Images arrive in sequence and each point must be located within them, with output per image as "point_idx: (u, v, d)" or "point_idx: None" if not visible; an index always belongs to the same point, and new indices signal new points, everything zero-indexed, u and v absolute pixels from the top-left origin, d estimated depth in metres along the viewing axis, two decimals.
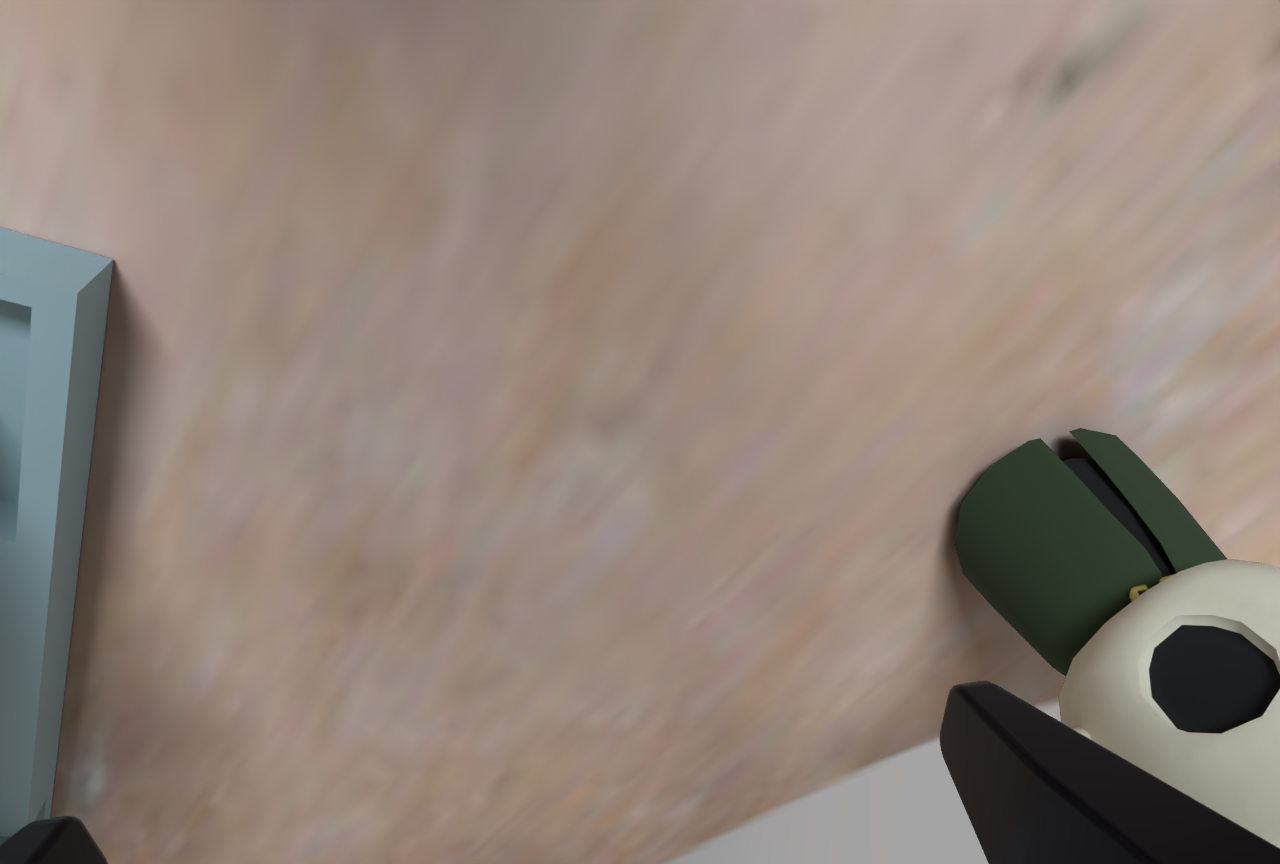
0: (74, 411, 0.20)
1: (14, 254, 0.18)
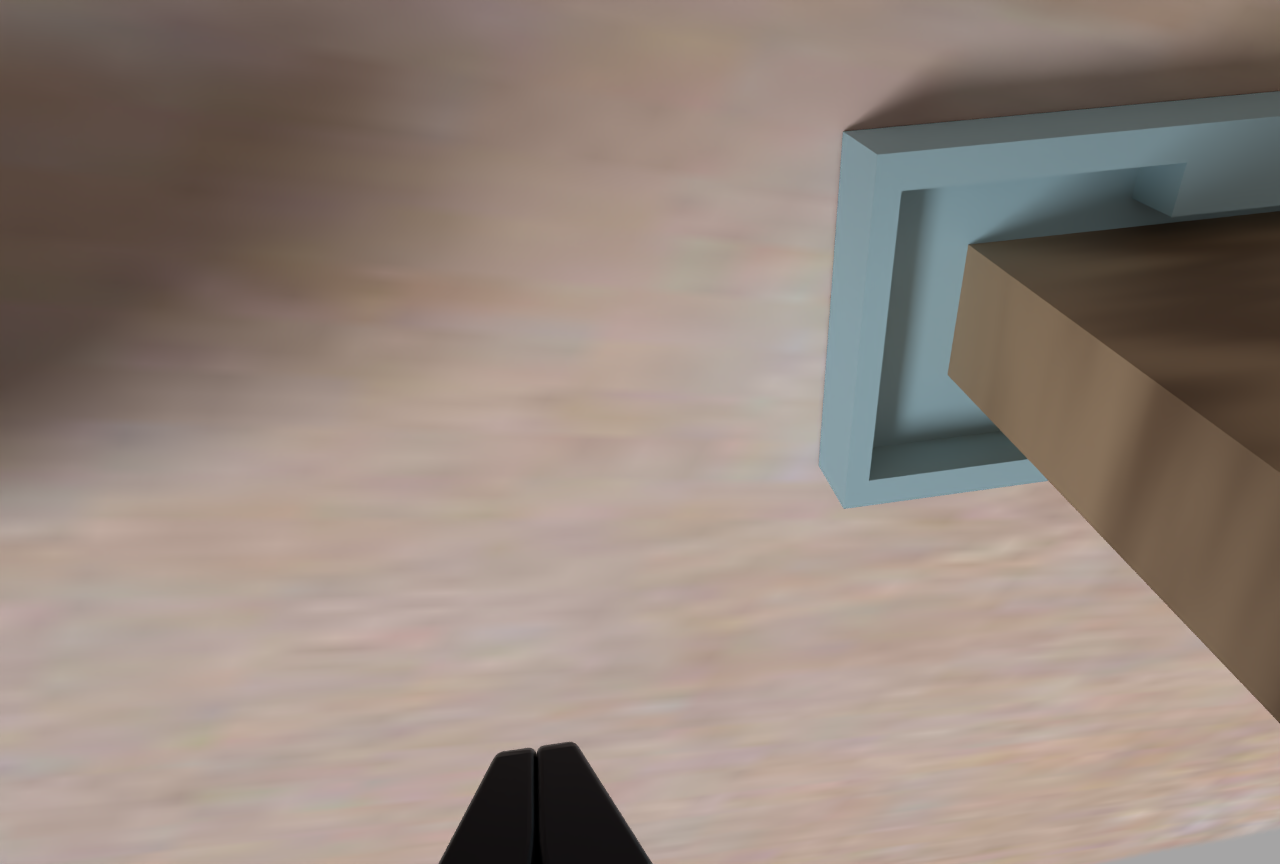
0: (1017, 134, 0.18)
1: (854, 213, 0.19)
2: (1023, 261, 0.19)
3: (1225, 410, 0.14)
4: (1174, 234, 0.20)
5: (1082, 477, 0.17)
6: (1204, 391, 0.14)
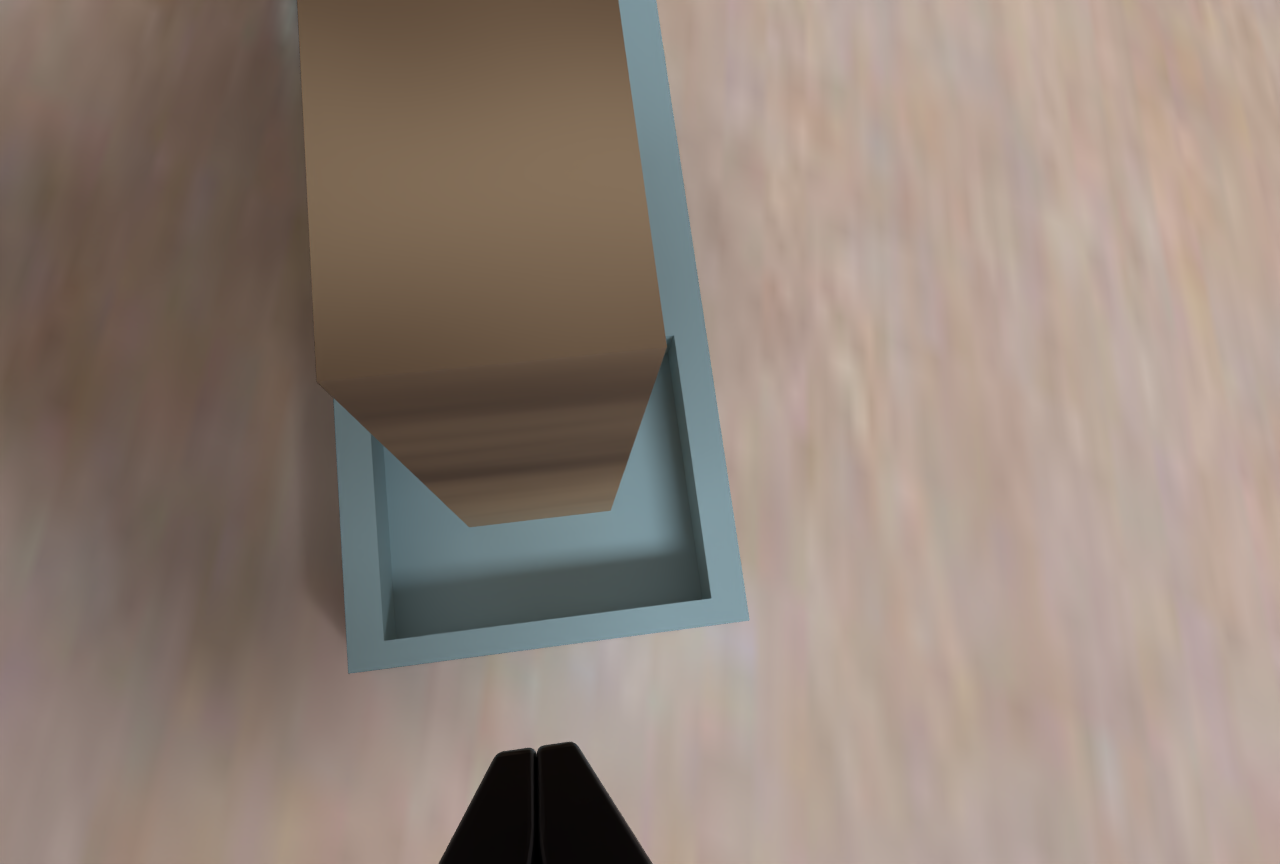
0: None
1: None
2: None
3: None
4: None
5: (583, 475, 0.16)
6: None
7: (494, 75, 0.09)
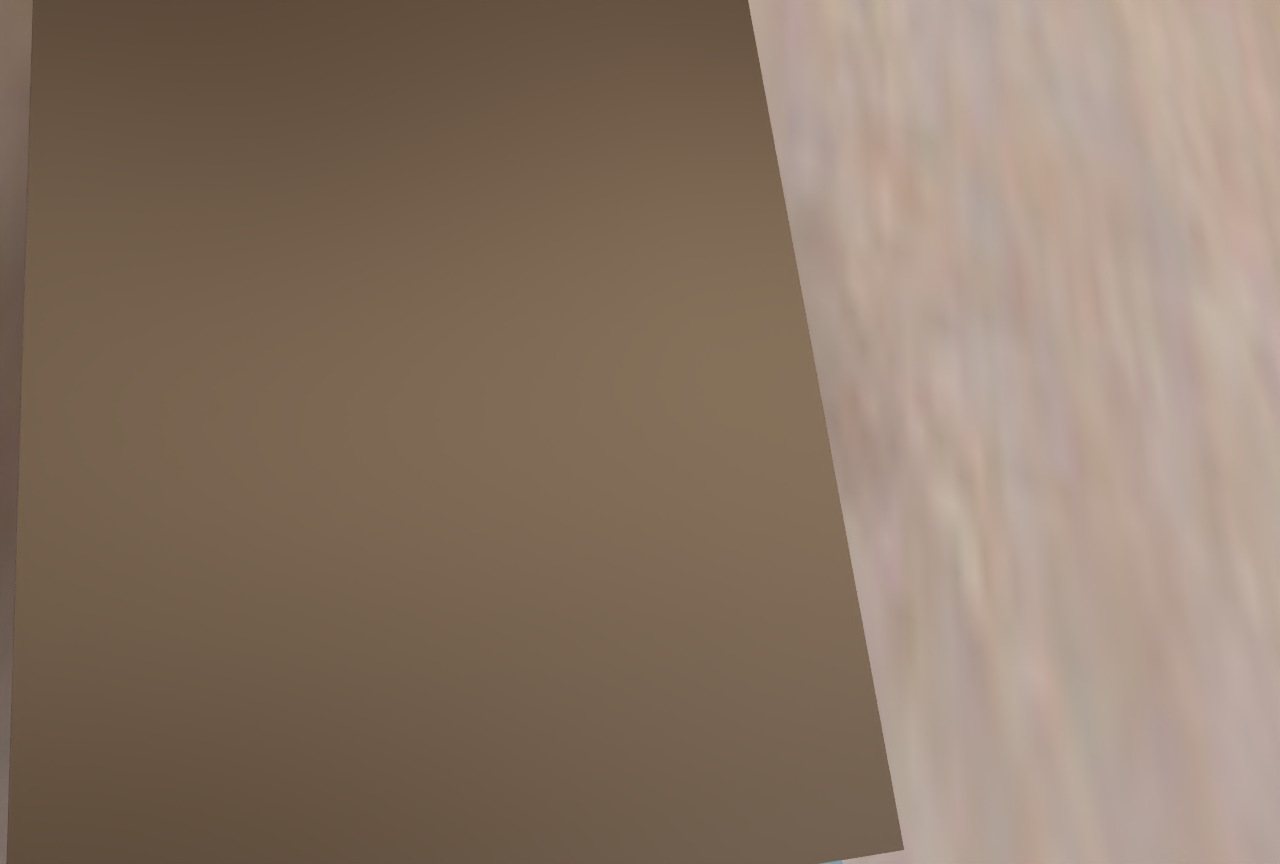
0: None
1: None
2: None
3: None
4: None
5: None
6: None
7: (479, 166, 0.04)
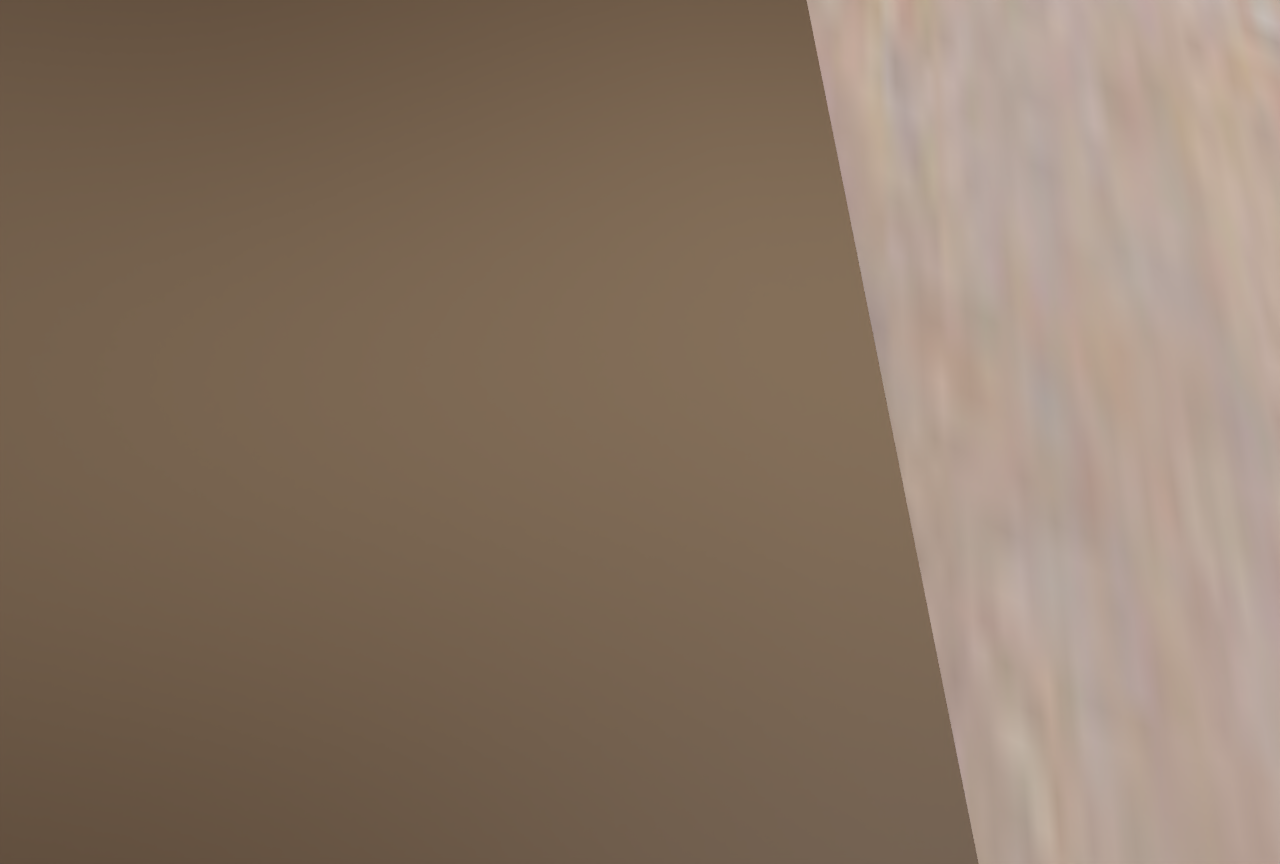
0: None
1: None
2: None
3: None
4: None
5: None
6: None
7: (457, 72, 0.03)
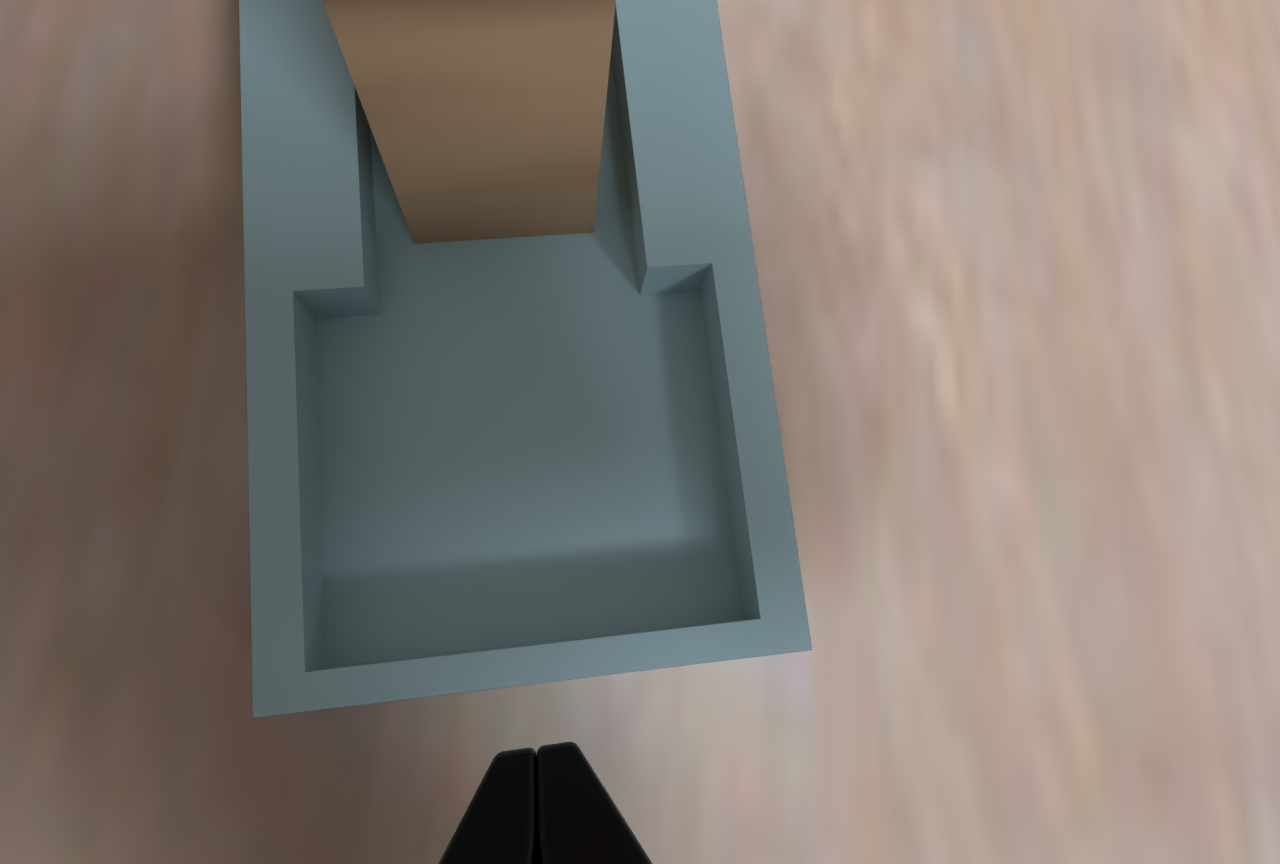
0: None
1: None
2: None
3: None
4: None
5: (555, 49, 0.11)
6: None
7: None
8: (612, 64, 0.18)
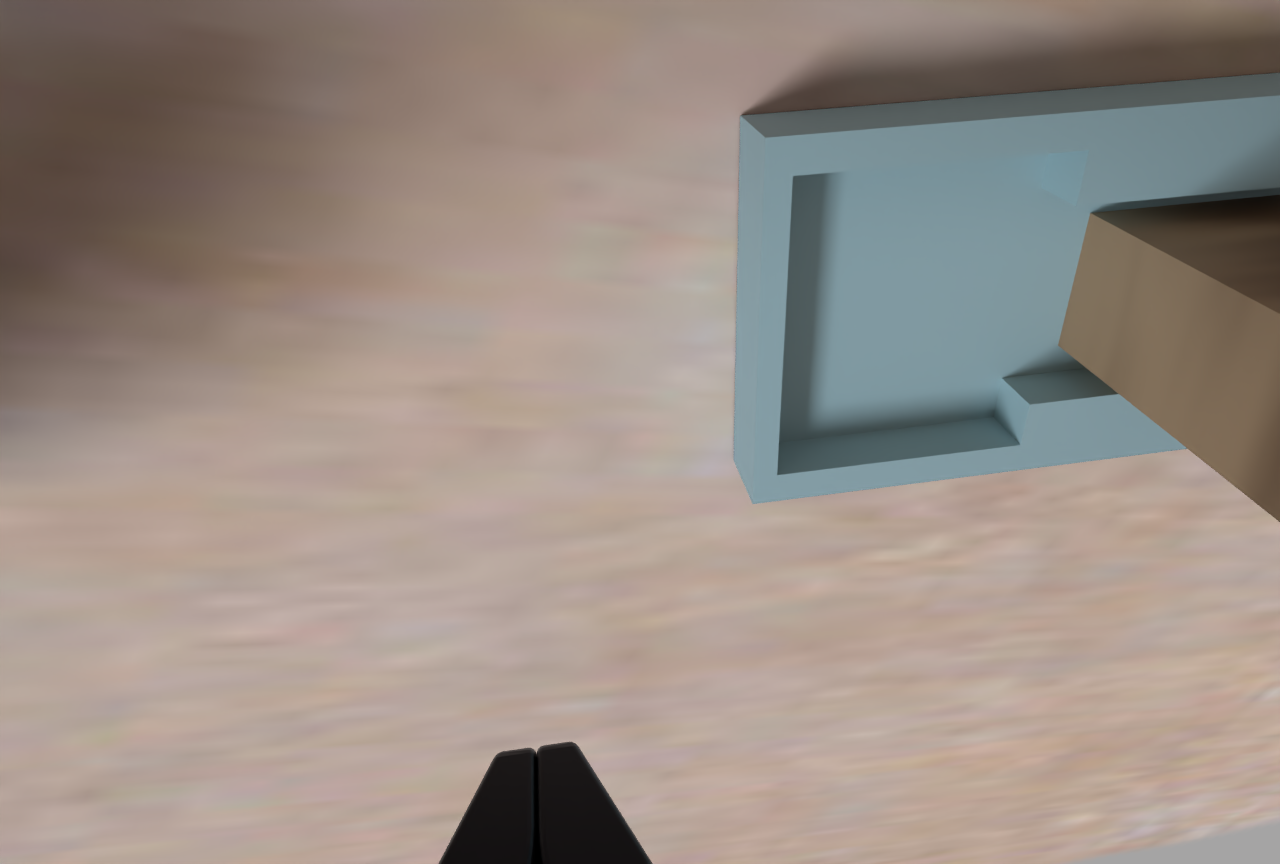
0: (913, 119, 0.18)
1: (751, 200, 0.18)
2: (1151, 228, 0.19)
3: None
4: None
5: (1226, 438, 0.17)
6: None
7: None
8: None
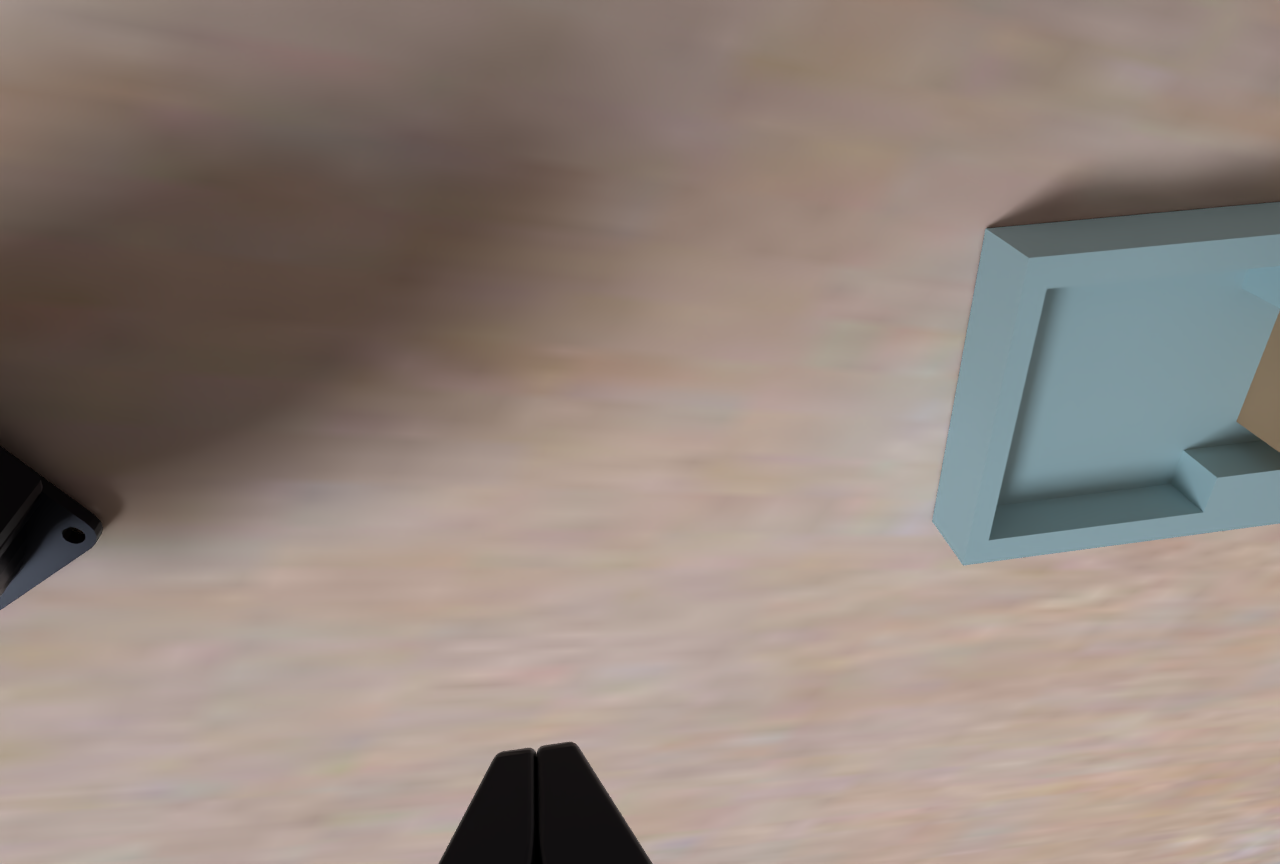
0: (1150, 237, 0.20)
1: (995, 304, 0.21)
2: None
3: None
4: None
5: None
6: None
7: None
8: None
